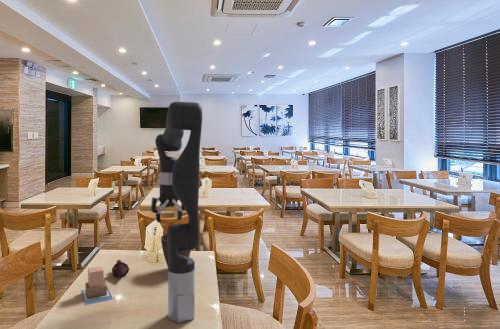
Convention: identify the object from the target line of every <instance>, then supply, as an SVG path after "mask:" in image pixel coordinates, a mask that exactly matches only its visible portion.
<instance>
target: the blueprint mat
mask: <svg viewBox="0 0 500 329" xmlns="http://www.w3.org/2000/svg"><path fill="white" fill-rule="evenodd" d="M80 294H81V296H82V300H83V303H84V306H88V305H92V304H98V303H101V302H107V301H111V300H114V298H113V296H112V293H111V291H110V290H109V287H108V286H107V295H106V296H101V297H96V298H92V299H88V298H87V295H86V289H82V290H80Z"/></svg>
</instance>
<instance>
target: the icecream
mask: <svg viewBox="0 0 500 329" xmlns="http://www.w3.org/2000/svg"><path fill="white" fill-rule="evenodd" d="M129 271H130V268H129V265H128V264H127V263H125V262H122V260H121V259H118V260H116V263H115V264H114V265H113V266H112V269H111V272H112V276H113V277H115V278H120V277H126V276H127V274H128V273H129Z"/></svg>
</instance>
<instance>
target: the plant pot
mask: <svg viewBox="0 0 500 329" xmlns="http://www.w3.org/2000/svg"><path fill="white" fill-rule="evenodd" d="M160 243H161V249H162V252H163V256H164V259H165V260H164V261H165V263H166V266H167V267H168V245H167V233H166V234H163V235H161V236H160ZM178 254H180V255H182V256H185V257H189V258H190V255H191V250H183V251H178Z"/></svg>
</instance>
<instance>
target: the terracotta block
mask: <svg viewBox="0 0 500 329" xmlns="http://www.w3.org/2000/svg"><path fill="white" fill-rule="evenodd" d="M104 274H105V273H104V269H103V266H102V265H99V266H95V267H89V268H88V269H87V279H88V280H87V282H88V284H89V286H90V288H91V287H97V286H102V285H104V280H105V277H104Z"/></svg>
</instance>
